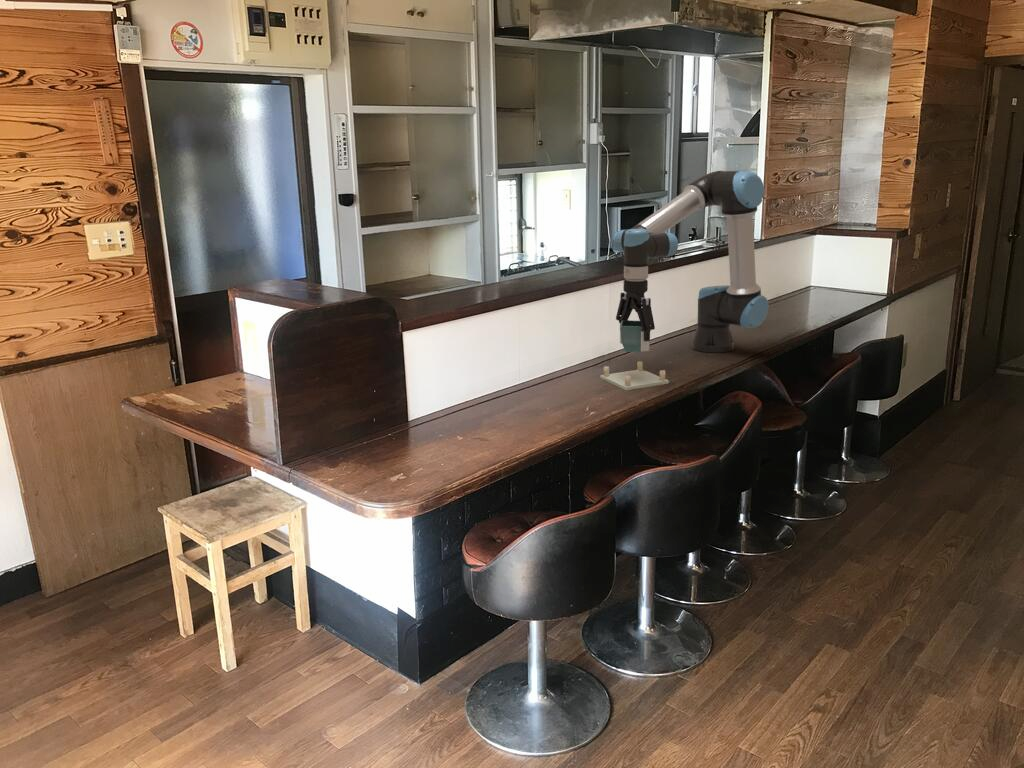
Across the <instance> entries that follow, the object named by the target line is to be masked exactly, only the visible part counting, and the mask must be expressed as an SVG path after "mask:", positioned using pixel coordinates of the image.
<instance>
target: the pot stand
mask: <svg viewBox="0 0 1024 768" xmlns="http://www.w3.org/2000/svg"><path fill="white" fill-rule="evenodd" d="M636 363H637V364H636V365H637V366H636V367H637V368H636V369H635V370H628V371H627V370H626V371H621V372H614V373H610V366H608V365H607V366H605V365H604V366H603V374H601V375H599V379H601V380H603V381H605V382H607V383H609V384H611V385H613V386H616V387H617V388H620V389H621V390H625V391H631V390H638V389H644V388H650V387H656V386H657V387H658V386H663V385H667V384H669V383H670V380H668V379H667V378H666V370H665V369H663V370H662V369H660V370H659V375H656V374H654V373H652V372H649V371H648V370H647V371H646V370H644V368H643V367H644V362H643V361H641V360H640V361H639V360H638V361H637V362H636Z"/></svg>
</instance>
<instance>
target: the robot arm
mask: <svg viewBox="0 0 1024 768" xmlns="http://www.w3.org/2000/svg"><path fill="white" fill-rule="evenodd" d="M764 195H765V187H764V182H763V180H762V179H761V177H760V176H758V174H757V173H755V172H754V171H753V172H752V171H746V170H715V171H712V172H709V173H706V174H705V175H702V176H700V177H698V178H697V179H695V180H694V181H692V182H690V183H689V184H688V185H686V186H685V187H684V188H683V190H682V193H680V194H678V195H676V197H674V198H673V199H671V200H670V201H669V202H667V203H666V204H664V205H663V206H662V207H660V208H659V209H657V210H656V211H655V212H653V213H652V214H650V215H649V216H647V217H646V218H644V219H643V220H641V221H640V222H639V223H637V224H636V225H634V226H633V227H632V228H630V229H620V230H618V231H617V232H616V233H615V236H614V238H613V245H614V248H615V250H616V251H618V252H619V253H623V278H624V280H623V287H622V288H623V289H622V290H623V292H620V298H619V299H620V300H619V303H618V308H617V312H616V316H615V320H616V321H618V323H619V326H620V325H621V322H622V320H629V318H630V316H631V314H632V312H633V310H634V311H635V313H636V314H637V317H638V321H640V323H641V326H642V330H641V351H642V352H649V351H650V340H651V332H652V330H655V329H656V327H655V326H656V325H655V321H654V316H653V311H652V306H651V305H652V304H651V303H652V301H651V300H652V299H651V298H650V297H648V298H647V297H646V296H645V293H647V292H648V287H649V286H648V280H647V279H648V278H649V260H650V259H658V258H667V257H671V256H673V255H675V254H676V252H677V251H678V249H679V240H678V238H677V236H676V235H675V234H674V233H672V232H667V231H670V229H672V228H673V227H675V226H676V225H677V224H679V223H680V222H681V221H683V220H684V219H686V218H688V217H689V216H690V215H691V214H693V213H694V212H699V211H700V212H701V211H702V210H703V209H705V208H707V207H712V206H718V207H719V206H720V207H721V215H723V217H725V218H726V228H727V229H726V230H727V246H728V247H727V249H728V262H729V265H728V266H729V281H730V285H712V286H706V287H702V288H700V290H699V291H698V299H697V327H696V329H695V333H694V336H693V339H692V340H691V349H692V350H694V351H698V352H703V353H714V354H715V353H726V352H727V353H728V352H731V351H733V350H734V348H735V347H734V345H735V343H734V339H733V336H732V331H731V326H730V325H734V326H738V327H742V328H750V329H753V328H757V327H759V326H760V325H761V324H762V323H763V322H764V321H765V319H766V318H767V315H768V313H769V307H770V305H769V300H768V298H767V297H765V295H762V290H761V289H762V288H761V286H760V285H758V284H757V280H756V279H757V277H756V255H755V234H754V215H755V214H756V213H757V211H758V206H760V205H761V203H762V202H763V198H764V197H765V196H764ZM645 326H646V327H645ZM619 344H622V341H621V332H620V331H619Z"/></svg>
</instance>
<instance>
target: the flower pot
mask: <svg viewBox="0 0 1024 768" xmlns="http://www.w3.org/2000/svg"><path fill="white" fill-rule="evenodd" d="M645 327H646V326H645ZM641 330H642V326H641V323H640V320H629V319H628V320H622V322H621V325H620V324H619V333H620V332H621V341H622V347H623V349H624V351H625V352H627V353H642V352H643V351H641Z"/></svg>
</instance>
